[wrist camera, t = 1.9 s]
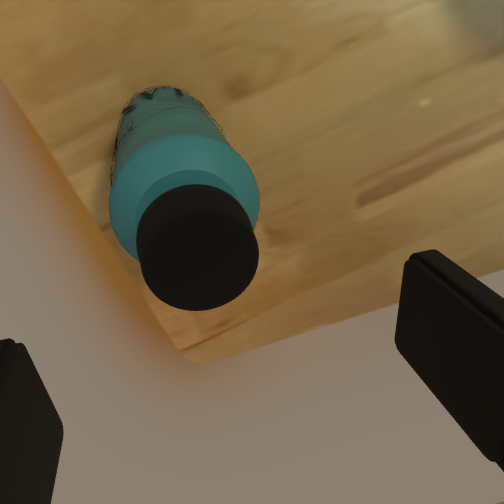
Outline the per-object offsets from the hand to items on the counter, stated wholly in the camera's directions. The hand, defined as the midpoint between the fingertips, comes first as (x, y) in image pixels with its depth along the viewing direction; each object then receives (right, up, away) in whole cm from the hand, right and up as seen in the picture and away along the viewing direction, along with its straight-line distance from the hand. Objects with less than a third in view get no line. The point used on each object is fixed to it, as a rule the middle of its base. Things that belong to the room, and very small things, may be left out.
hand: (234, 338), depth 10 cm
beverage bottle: (-6, +11, +20) cm, 24 cm away
